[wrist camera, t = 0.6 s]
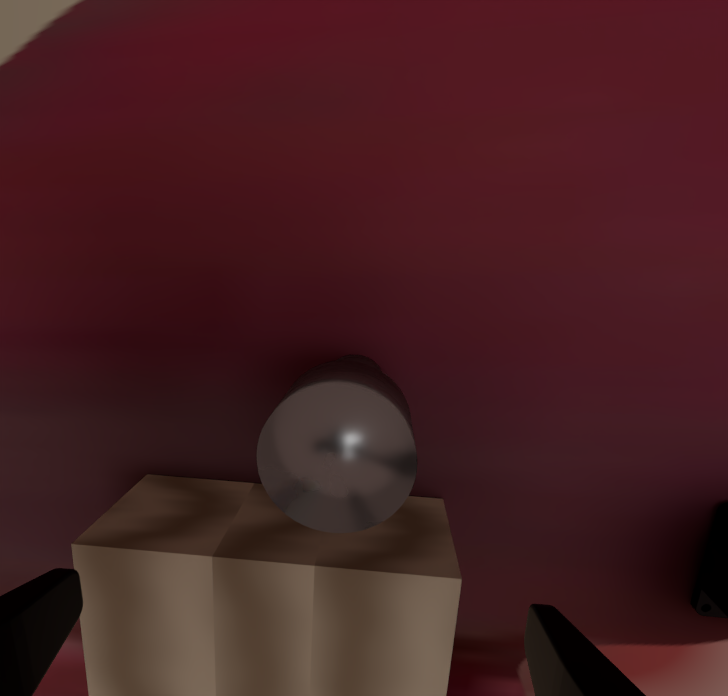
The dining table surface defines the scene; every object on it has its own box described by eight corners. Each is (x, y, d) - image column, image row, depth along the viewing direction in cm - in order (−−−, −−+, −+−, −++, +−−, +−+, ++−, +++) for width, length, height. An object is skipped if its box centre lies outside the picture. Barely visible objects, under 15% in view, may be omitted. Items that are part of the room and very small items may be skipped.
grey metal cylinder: (409, 338, 20) (424, 392, 12) (400, 433, 21) (410, 539, 13) (306, 331, 20) (256, 379, 12) (304, 426, 21) (256, 526, 13)
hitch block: (442, 498, 22) (462, 579, 16) (410, 777, 26) (417, 912, 21) (147, 474, 22) (71, 544, 17) (165, 751, 27) (109, 875, 21)
